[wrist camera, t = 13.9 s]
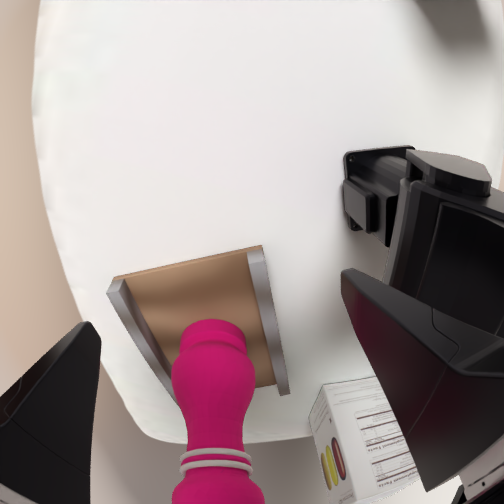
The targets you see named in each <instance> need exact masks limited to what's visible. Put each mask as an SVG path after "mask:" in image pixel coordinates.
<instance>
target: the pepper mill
mask: <svg viewBox="0 0 504 504" xmlns="http://www.w3.org/2000/svg"><path fill="white" fill-rule="evenodd" d="M179 353H180V355H179V356H178V357H177V358H176V360H175V361H174V363H173V366H172V370H171V382H172V387H173V391H174V395H175V398H176V400H177V402H178V404H179V406H180V409H181V411H182V414H183V416H184V419H185V422H186V426H187V431H188V444H187V452H186V453H183V454H182V455H181V457H180V462H181V467H180V473H181V474H182V475H183V476H185V478H184V479H183V481H181V482H180V483H179V484H178V485H177V486H176V488H175V489H174V491H173V494H172V504H265V501H264V496H263V493H262V492H261V489H260V488H259V487H258V486H257V485H256V484H255V483H254V482H252V481H251V480H250V479H249V476H250V475H251V474H252V473H253V469H252V467H251V464H250V463H251V461H252V459H251V457H250V456H249V455H248V454H247V453H245V452H244V447H243V442H242V426H243V421H244V416H245V413H246V411H247V408H248V406H249V404H250V402H251V399H252V397H253V393H254V389H255V384H256V383H255V369H254V365H253V363H252V361H251V360H250V359H249V358H248V356H247V348H246V339H245V336H244V334H243V332H242V331H241V330H240V329H239V328H238V327H237V326H236V325H234V324H232V323H230V322H227V321H224V320H219V319H205V320H200V321H197V322H195V323H192V324H191V325H189V326H188V327H187V328H186V329H185V330H184V331H183V333H182V336H181V340H180V349H179Z"/></svg>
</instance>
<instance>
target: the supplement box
mask: <svg viewBox="0 0 504 504" xmlns="http://www.w3.org/2000/svg"><path fill="white" fill-rule="evenodd" d="M309 421H310V425H311V429H312V433H313V437H314V441H315V444H316V449H317V452H318V456H319V461H320V465H321V469H322V473H323V478H324V482H325V485H326V490H327V494H328V498H329V503H330V504H370V503H373V502H376V501H379V500H381V499H384V498H387V497H389V496H392V495H393V494H395V493H396V492H398V491H400V490H402V489H404V488H406V487H407V486H409V485H410V484H412V483H414V482H415V481H417V480H419V479H421V478H420V476H419V473H418V470H417V468H416V465H415V463H414V460H413V458H412V456H411V453H410V451H409V448H408V446H407V444H406V441H405V438H404V436H403V434H402V432H401V429H400V427H399V425H398V422H397V420H396V418H395V416H394V413H393V411H392V409H391V407H390V404H389V402H388V400H387V398H386V396H385V394H384V391H383V389H382V387H381V385H380V383H379V381H378V379H377V377H371V378H366V379H360V380H354V381H348V382H342V383H334V384H326V385H323V386H322V389H321V391H320V393H319V396H318V398H317V400H316V402H315V404H314V407H313V409H312V411H311V413H310V415H309Z"/></svg>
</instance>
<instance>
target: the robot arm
mask: <svg viewBox="0 0 504 504" xmlns="http://www.w3.org/2000/svg"><path fill="white" fill-rule="evenodd" d="M350 156H353V159H352V161H349V157H350ZM344 166H345V177H346V179H344V181H343V189H344V203H345V211H346V212H347V213H348V225H349V227H350V229H351V230H352V231H359V230H365V231H366V232H367V233H368V234H371V233H373V234H374V235H375V236H376V237H377V238H378V239H379V240H380V241H381V242H382V243H383V244H384V245H385V246H386V247H390V249H389V254H388V259H387V263H386V268H385V272H384V277H383V281H382V282H381V281H379V280H377V279H375V278H372V277H370V276H368V275H366V274H364V273H362V272H360V271H358V270H356V269H354V268H351V269H347V270H343V271H342V272H341V295H342V298H343V301H344V304H345V306H346V309H347V312H348V314H349V317H350V320H351V323H352V325H353V328H354V331H355V333H356V336H357V338H358V340H359V342H360V344H361V346H362V348H363V350H364V352H365V354H366V356H367V358H368V360H369V362H370V364H371V366H372V368H373V370H374V372H375V374H376V377H377V379H378V381H379V383H380V385H381V387H382V389H383V391H384V394H385V396H386V398H387V400H388V402H389V404H390V407H391V409H392V411H393V413H394V416H395V418H396V420H397V422H398V425H399V427H400V429H401V432H402V434H403V436H404V438H405V441H406V444H407V446H408V448H409V451H410V453H411V456H412V458H413V460H414V463H415V465H416V468H417V470H418V473H419V476H420V478H421V481H422V483H423V486H424V488H425V491H426V492H428V491H430V490H432V489H434V488H436V487H438V486H440V485H442V484H444V483H445V482H447V481H449V480H451V479H452V478H454V477H456V476H457V475H459V476H460V479H461V481H462V483H463V484H462V485H461V486H459V488H458V490H457V492H456V495H455V497H454V499H453V501H452V503H451V504H504V192H501V191H499V190H497V189H495V188H492V187H491V183H492V178H491V176H490V175H489V173H488V171H487V169H486V167H485V166H484V165H483V164H480V163H478V162H475V161H472V160H469V159H466V158H463V157H460V156H456V155H449V154H443V153H435V152H428V151H420V150H415V148H414V147H413V146H410V145H404V146H393V147H383V148H373V149H365V150H356V151H349V152H347V153H345V155H344ZM354 223H357V224H356V226H353V225H354ZM100 355H101V338H100V336H99V334H98V333H97V331H96V330H95V328H94V327H93V325H92V324H91V323H90V322H89V321H86V322H80V323H79V324H78V325H76V326H75V327H74V328H73V329H72V330H71V331H70V332H69V333H67V334H66V335H65V336H64V337H63V338H62V339H61V340H60V341H59V342H58V343H56V345H54V346H53V347H52V348H51V349H50V350H49V351H48V352H47V353H46V354H45V355H43V356H42V357H41V358H40V359H39V360H38V361H37V362H36V363H35V364H34V365H33V366H32V367H31V368H30V369H29V370H28V371H27V372H26V373H25V374H24V375H23V376H22V377H20V378H19V379H18V380H17V382H15V383H14V384H13V385H12V386H11V387H10V388H9V389H8V390H7V391H6V392H5V393H4V394H3V395H2V396H1V397H0V504H90V465H91V444H92V431H93V421H94V412H95V403H96V395H97V388H98V381H99V369H100Z"/></svg>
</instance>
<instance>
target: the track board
mask: <svg viewBox="0 0 504 504" xmlns="http://www.w3.org/2000/svg"><path fill="white" fill-rule="evenodd" d="M106 294H107V296H108V298H109V299H110V301H111V303H112V305H113V307H114V309H115V310H116V312H117V314H118V316H119V317H120V319H121V321H122V323H123V324H124V326H125V328H126V329H127V331H128V333H129V334H130V336H131V338H132V339H133V341H134V343H135V344H136V346H137V347H138V349H139V350H140V352H141V354H142V355H143V357H144V358H145V360H146V361H147V363H148V364H149V366H150V367H151V369H152V370H153V372H154V373H155V375H156V376H157V377H158V379H159V380H160V382H161V383H162V384H163V386H164V387H165V389H166V390H167V391H168V393H169V394H170V395H171V397H172V398H173V400H174V401H175V402H176V403H177V405H178V406H179V404H178V402H177V400H176V398H175V395H174V391H173V387H172V382H171V370H172V366H173V363H174V361H175V360H176V358H177V357H178V356H179V355H180V353H179V349H180V340H181V336H182V333H183V331H184V330H185V329H186V328H187V327H188V326H189V325H191V324H192V323H195V322H197V321H200V320H205V319H219V320H224V321H227V322H230V323H232V324H234V325H236V326H237V327H238V328H239V329H240V330H241V331H242V332H243V334H244V336H245V339H246V348H247V356H248V358H249V359H250V360H251V361H252V363H253V365H254V369H255V383H256V384H255V388H259V387H264V386H270V385H274V384H277V386H278V390H279V394H280V396H283V395H287V394H290V389H289V384H288V378H287V373H286V367H285V362H284V357H283V351H282V346H281V341H280V335H279V330H278V325H277V320H276V314H275V309H274V304H273V299H272V294H271V289H270V283H269V278H268V273H267V268H266V263H265V258H264V253H263V248H262V245H258V246H254V247H249V248H245V249H240V250H235V251H231V252H226V253H221V254H217V255H212V256H208V257H203V258H198V259H194V260H189V261H185V262H180V263H175V264H171V265H166V266H162V267H157V268H153V269H148V270H144V271H139V272H135V273H130V274H125V275H121V276H116V277H114V278H113V280H112V283H111V285H110V287H109V289H108V291H107V293H106ZM179 407H180V406H179Z"/></svg>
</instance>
